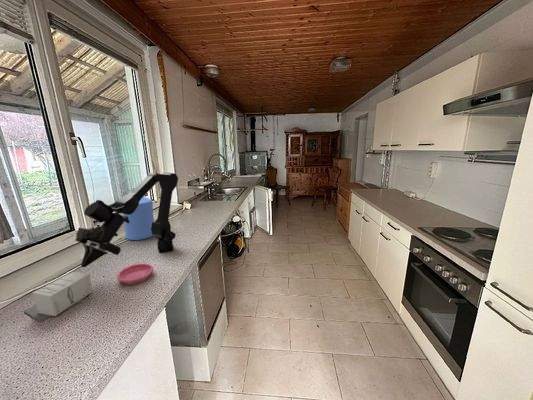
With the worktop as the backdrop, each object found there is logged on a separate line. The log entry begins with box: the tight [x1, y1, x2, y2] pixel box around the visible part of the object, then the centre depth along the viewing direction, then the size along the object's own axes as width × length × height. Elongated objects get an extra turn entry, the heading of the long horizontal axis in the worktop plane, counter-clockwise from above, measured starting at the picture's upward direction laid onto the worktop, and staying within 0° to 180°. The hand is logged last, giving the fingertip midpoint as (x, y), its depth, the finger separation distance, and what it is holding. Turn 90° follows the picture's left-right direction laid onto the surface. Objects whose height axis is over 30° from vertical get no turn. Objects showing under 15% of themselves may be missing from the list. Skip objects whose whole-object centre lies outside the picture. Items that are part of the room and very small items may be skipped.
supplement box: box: [32, 271, 94, 317], centre depth 74 cm, size 7×7×13 cm
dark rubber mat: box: [23, 296, 87, 323], centre depth 74 cm, size 12×10×1 cm
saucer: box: [116, 263, 154, 286], centre depth 89 cm, size 12×12×3 cm
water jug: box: [122, 187, 155, 241], centre depth 128 cm, size 16×16×28 cm
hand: (82, 266), depth 79 cm, fingers closed
